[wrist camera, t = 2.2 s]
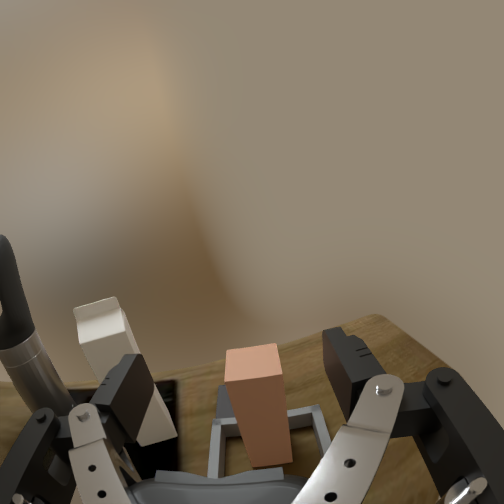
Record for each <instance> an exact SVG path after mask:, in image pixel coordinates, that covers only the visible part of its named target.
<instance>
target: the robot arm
mask: <svg viewBox="0 0 504 504" xmlns="http://www.w3.org/2000/svg"><path fill="white" fill-rule="evenodd" d="M0 301H1V305H2V310H3V311H2V314H1V316H0V360H1V362H2V364H3V365H4V367H5V369H6V371H7V373H8V375H9V376H10V378H11V379H12V381H13V385H14V386H15V388H16V390H17V391H18V393H19V394H20V396H21V397H22V399H23V400H24V402H25V403H26V405H27V406H28V408H29V409H30V411H31V412H32V413H33V415H32V416H31V417H30V419H29V421H28V422H27V424H26V425H25V427H24V428H23V430H22V431H21V433H20V435H19V436H18V438H17V440H16V441H15V443H14V445H13V446H12V448H11V450H10V451H9V453H8V455H7V457H6V458H5V460H4V462H3V464H2V465H1V467H0V504H70V503H71V500H72V497H73V493H74V491H75V488H76V485H77V487H78V490H79V494H80V497H81V499H82V502H83V504H362V502H363V500H364V498H365V496H366V494H367V492H368V490H369V488H370V486H371V484H372V482H373V479H374V477H375V475H376V473H377V470H378V468H379V465H380V463H381V461H382V458H383V456H384V453H385V450H386V448H387V445H388V442H389V440H390V438H398V437H406V436H412V437H413V439H414V441H415V443H416V445H417V447H418V449H419V451H420V453H421V455H422V457H423V459H424V461H425V463H426V466H427V468H428V470H429V472H430V474H431V477H432V479H433V481H434V483H435V486H436V488H437V490H438V492H439V495H440V497H441V499H440V500H439V501H438V502H437V503H436V504H504V430H503V428H502V427H501V426H500V424H499V423H498V422H497V420H496V419H495V418H494V417H493V415H492V414H491V412H490V411H489V410H488V409H487V407H486V406H485V405H484V404H483V402H482V401H481V400H480V399H479V397H478V396H477V395H476V394H475V392H473V390H472V389H471V388H470V386H469V385H468V384H467V383H466V382H465V380H464V379H463V378H462V377H461V376H460V375H459V373H458V372H456V371H455V370H453V369H451V368H446V367H441V368H436V369H434V370H432V371H430V372H429V373H428V375H427V377H426V380H425V381H421V382H414V383H403V382H402V380H401V379H400V378H398V377H396V376H394V375H390V374H386V372H385V371H384V369H383V368H382V366H381V365H380V364H379V362H378V361H377V359H376V358H375V357H374V355H373V354H372V352H371V351H370V350H369V348H368V347H367V345H366V344H365V343H364V341H363V340H362V339H360V338H358V337H357V336H355V335H351V336H346V335H345V333H344V331H343V330H342V328H341V327H336V328H331V329H327V330H323V333H322V337H323V361H324V367H325V371H326V374H327V376H328V378H329V381H330V383H331V385H332V388H333V390H334V393H335V395H336V397H337V400H338V402H339V405H340V407H341V410H342V412H343V414H344V417H345V419H346V422H347V424H346V425H345V424H343V425H342V426H341V427H340V429H339V431H338V432H337V434H336V436H335V438H334V440H333V441H332V443H331V445H330V447H329V448H328V450H327V452H326V453H325V455H324V457H323V458H322V460H321V461H320V463H319V465H318V466H317V468H316V469H315V471H314V472H313V474H312V475H311V477H310V478H306V477H301V476H296V475H286V474H283V468H282V467H278V468H270V469H262V470H252V471H247V472H243V473H239V474H235V475H231V476H227V477H223V478H218V479H213V478H208V477H203V476H199V475H195V474H190V473H186V472H174V471H161V470H157V472H156V476H155V478H151V479H146V480H143V481H142V480H141V478H140V476H139V475H138V473H137V471H136V469H135V467H134V465H133V463H132V461H131V459H130V457H129V455H128V453H127V451H126V449H125V448H124V447H123V445H124V442H129V443H135V442H136V439H137V436H138V433H139V430H140V428H141V425H142V422H143V419H144V417H145V414H146V411H147V409H148V406H149V403H150V401H151V398H152V395H153V393H154V381H153V379H152V376H151V374H150V372H149V370H148V367H147V365H146V362H145V360H144V358H143V356H142V355H141V354H125V355H124V356H123V357H122V359H121V360H120V362H119V364H117V365H115V366H114V367H113V368H112V369H111V370H109V372H108V373H107V375H106V376H105V379H104V380H103V381H102V383H101V385H100V386H99V388H98V389H97V391H96V392H95V394H94V396H93V397H92V399H91V401H90V402H89V403H85V404H80V405H78V406H77V405H76V403H75V402H74V400H73V399H72V397H71V396H70V394H69V392H68V391H67V389H66V387H65V385H64V384H63V382H62V380H61V379H60V377H59V375H58V373H57V371H56V370H55V368H54V366H53V364H52V362H51V360H50V358H49V356H48V354H47V352H46V350H45V348H44V346H43V344H42V342H41V340H40V337H39V335H38V333H37V330H36V328H35V326H34V323H33V321H32V318H31V314H30V311H29V307H28V304H27V301H26V297H25V295H24V291H23V288H22V284H21V281H20V276H19V272H18V268H17V264H16V260H15V256H14V253H13V250H12V247H11V245H10V243H9V241H8V239H7V238H6V237H5V236H3V235H0ZM49 447H50V448H51V449H52V450H53V452H54V453H55V454H56V455H55V457H54V459H53V462H52V464H51V466H50V468H49V470H48V472H47V471H46V470H45V469H44V467H43V458H44V456H45V454H46V452H47V450H48V448H49Z"/></svg>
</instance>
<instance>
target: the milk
mask: <svg viewBox="0 0 504 504" xmlns="http://www.w3.org/2000/svg"><path fill="white" fill-rule="evenodd" d="M73 313H74V315H75V318H76V320H77V328H78V337H79V344H80V346H81V348H82V350H83V352H84V354H85V356H86V358H87V360H88V362H89V364H90V366H91V368H92V370H93V372H94V374H95V376H96V377H97V379H98V381H99V383H100V385H101V383H102V381H103V380H104V379H105V376H106V375H107V373H108V372H109V370H111V369H112V368H113V367H114V366H115V365H117V364H119V362H120V360H121V359H122V357H123V356H124V355H125V354H141V353H140V351H139V348H138V346H137V344H136V341H135V339H134V336H133V334H132V331H131V329H130V326H129V323H128V321H127V318H126V315H125V312H124V311H123V310H122V309H121V308H120V306H119V303H118V300H117V298H116V297H111V298H108V299H104V300H101V301H97V302H94V303H91V304H88V305H84V306H80V307H78V308H75V309H74V310H73ZM174 437H177V433H176V430H175V428H174V425H173V422H172V420H171V417H170V414H169V411H168V409H167V408H166V406H165V404H164V402H163V400H162V398H161V396H160V394H159V392H158V390H157V388H156V386H155V384H154V393H153V395H152V398H151V401H150V403H149V406H148V409H147V411H146V414H145V417H144V419H143V422H142V425H141V428H140V430H139V433H138V436H137V439H136V440H137V441H138V442H139V444H140V445H141V446H146V445H150V444H153V443H157V442H160V441H164V440H167V439H170V438H174Z"/></svg>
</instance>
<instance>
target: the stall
mask: <svg viewBox="0 0 504 504" xmlns="http://www.w3.org/2000/svg"><path fill="white" fill-rule="evenodd" d="M287 415H288V423H289V429H295V428H300V427H305V426H310V425H312V426H313V429H314V433H315V437H316V440H317V444H318V448H319V451H320V455H321V459H322V458H323V457H324V455H325V453H326V452H327V450H328V448H329V447H330V445H331V440H330V437H329V433H328V430H327V427H326V424H325V421H324V418H323V415H322V412H321V409H320V406H319V404H318V405H314V406H309V407H304V408H299V409H293V410H288V411H287ZM232 436H241V433H240V430H239V427H238V424H237V421H236V418H235V417H234V418H221V419H213V422H212V432H211V442H210V453H209V464H208V476H207V477H208V478H213V479H218V478H223V477H224V470H225V445H226V437H232Z"/></svg>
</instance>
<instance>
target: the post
mask: <svg viewBox="0 0 504 504" xmlns="http://www.w3.org/2000/svg"><path fill="white" fill-rule="evenodd" d="M224 382H225V385H226V389H227V392H228V395H229V399H230V402H231V405H232V408H233V412H234V415H235V418H236V421H237V424H238V427H239V430H240V433H241V436H242V439H243V442H244V445H245V448H246V451H247V454H248V456H249V459H250V462H251V465H252V467H261V466H270V465H277V464H284V463H291V462H293V458H292V449H291V441H290V432H289V423H288V415H287V407H286V398H285V390H284V382H283V374H282V369H281V364H280V360H279V355H278V350H277V345H276V343H273V344H267V345H261V346H254V347H247V348H239V349H231V350H227V354H226V368H225V381H224Z"/></svg>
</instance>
